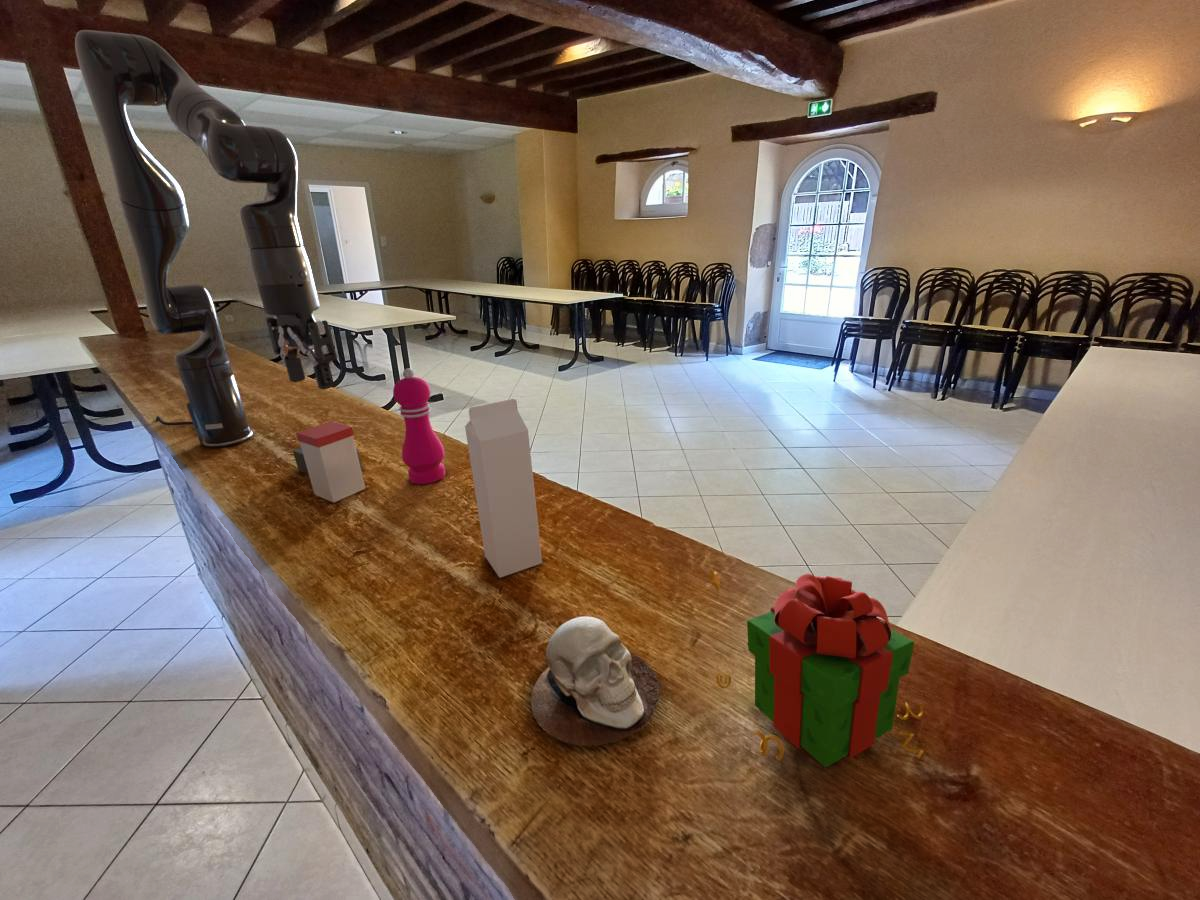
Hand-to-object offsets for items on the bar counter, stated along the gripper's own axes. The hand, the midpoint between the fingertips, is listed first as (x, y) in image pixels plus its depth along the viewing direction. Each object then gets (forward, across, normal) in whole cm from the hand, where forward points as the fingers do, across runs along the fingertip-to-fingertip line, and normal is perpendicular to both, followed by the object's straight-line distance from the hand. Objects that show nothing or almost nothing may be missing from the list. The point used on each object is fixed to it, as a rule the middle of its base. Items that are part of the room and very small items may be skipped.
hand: (312, 384), depth 88 cm
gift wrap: (+19, +80, -6) cm, 83 cm away
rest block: (+19, -10, +4) cm, 22 cm away
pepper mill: (+19, +9, +12) cm, 24 cm away
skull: (+19, +64, -13) cm, 68 cm away
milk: (+19, +41, 0) cm, 45 cm away
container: (+18, 0, +4) cm, 18 cm away
